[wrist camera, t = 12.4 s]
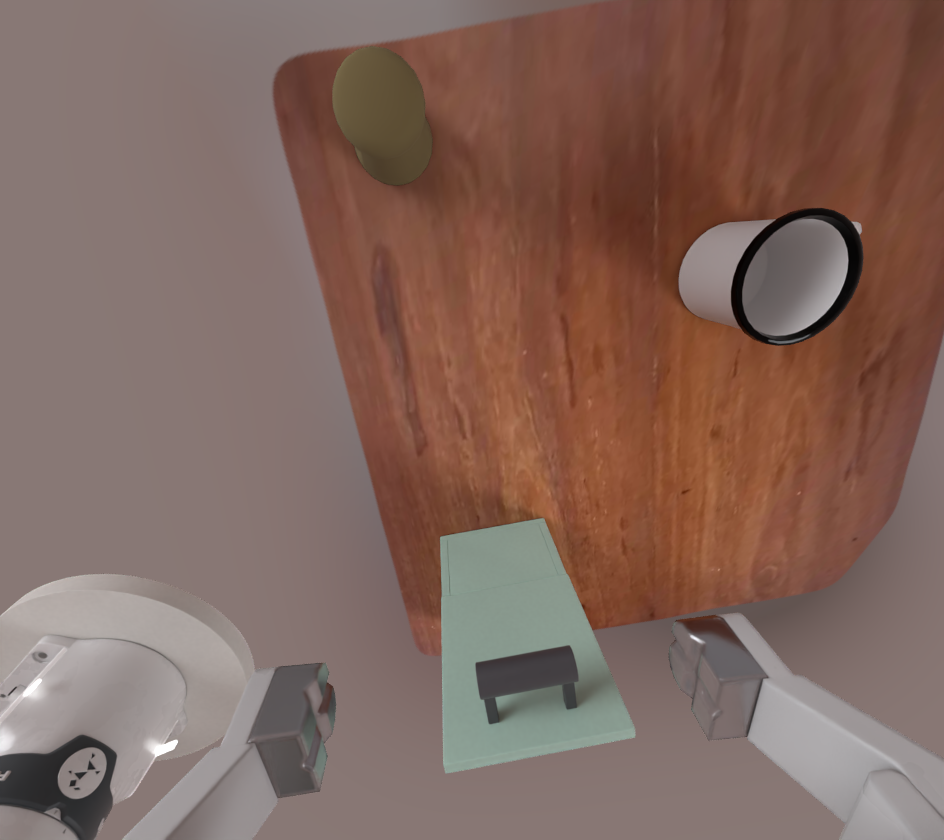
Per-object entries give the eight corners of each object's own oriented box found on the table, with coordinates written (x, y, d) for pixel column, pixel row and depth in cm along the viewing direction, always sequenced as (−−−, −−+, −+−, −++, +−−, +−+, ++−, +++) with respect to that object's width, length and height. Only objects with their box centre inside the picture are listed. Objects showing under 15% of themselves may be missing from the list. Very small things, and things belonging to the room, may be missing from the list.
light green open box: (553, 609, 53) (575, 675, 45) (459, 626, 53) (465, 696, 45) (543, 517, 48) (566, 573, 40) (439, 536, 48) (441, 596, 39)
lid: (635, 737, 26) (633, 673, 24) (445, 774, 26) (429, 712, 24) (568, 580, 39) (563, 532, 38) (442, 604, 39) (431, 556, 37)
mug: (690, 343, 42) (755, 369, 33) (655, 253, 38) (718, 256, 30) (809, 276, 40) (909, 285, 32) (784, 175, 37) (889, 155, 28)
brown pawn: (413, 79, 32) (404, 3, 22) (444, 168, 34) (449, 136, 24) (338, 112, 32) (296, 53, 22) (374, 197, 35) (350, 179, 24)
